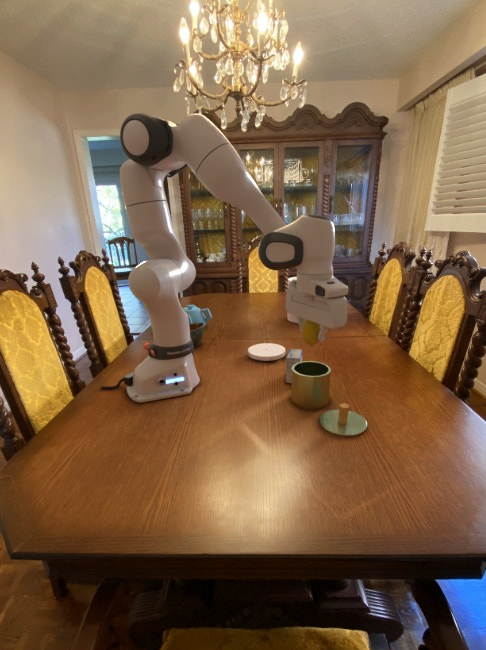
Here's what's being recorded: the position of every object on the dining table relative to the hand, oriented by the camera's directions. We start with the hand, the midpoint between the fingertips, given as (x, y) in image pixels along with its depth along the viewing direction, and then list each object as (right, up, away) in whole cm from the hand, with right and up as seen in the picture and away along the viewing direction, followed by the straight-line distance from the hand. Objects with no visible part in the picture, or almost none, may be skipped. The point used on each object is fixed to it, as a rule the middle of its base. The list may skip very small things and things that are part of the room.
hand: (312, 336), depth 91 cm
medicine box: (-2, -13, +21) cm, 25 cm away
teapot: (-45, +8, +76) cm, 88 cm away
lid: (+7, -22, -5) cm, 23 cm away
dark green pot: (-45, -2, +50) cm, 67 cm away
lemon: (0, -3, +1) cm, 3 cm away
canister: (+10, +13, +84) cm, 85 cm away
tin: (+1, -18, +7) cm, 19 cm away
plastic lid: (-10, -6, +39) cm, 41 cm away
